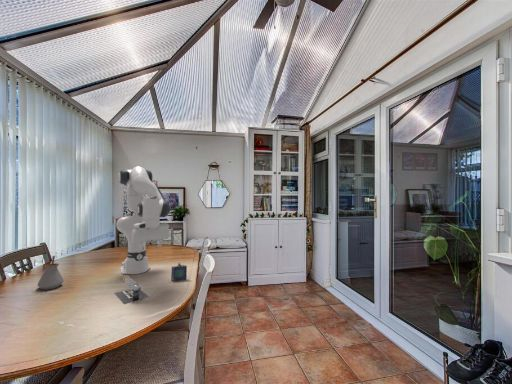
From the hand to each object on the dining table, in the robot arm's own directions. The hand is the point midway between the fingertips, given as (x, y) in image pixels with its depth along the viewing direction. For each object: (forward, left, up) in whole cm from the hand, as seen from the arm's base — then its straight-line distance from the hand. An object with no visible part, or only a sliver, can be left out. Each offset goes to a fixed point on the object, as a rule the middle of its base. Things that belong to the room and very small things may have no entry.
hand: (151, 248), depth 136 cm
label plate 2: (+4, -11, -23) cm, 25 cm away
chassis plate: (+3, -11, -24) cm, 26 cm away
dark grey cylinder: (+10, -11, -23) cm, 27 cm away
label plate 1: (-2, -11, -23) cm, 25 cm away
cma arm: (+2, -11, -18) cm, 21 cm away
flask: (-4, +19, -24) cm, 31 cm away
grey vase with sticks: (-47, -40, -24) cm, 66 cm away
